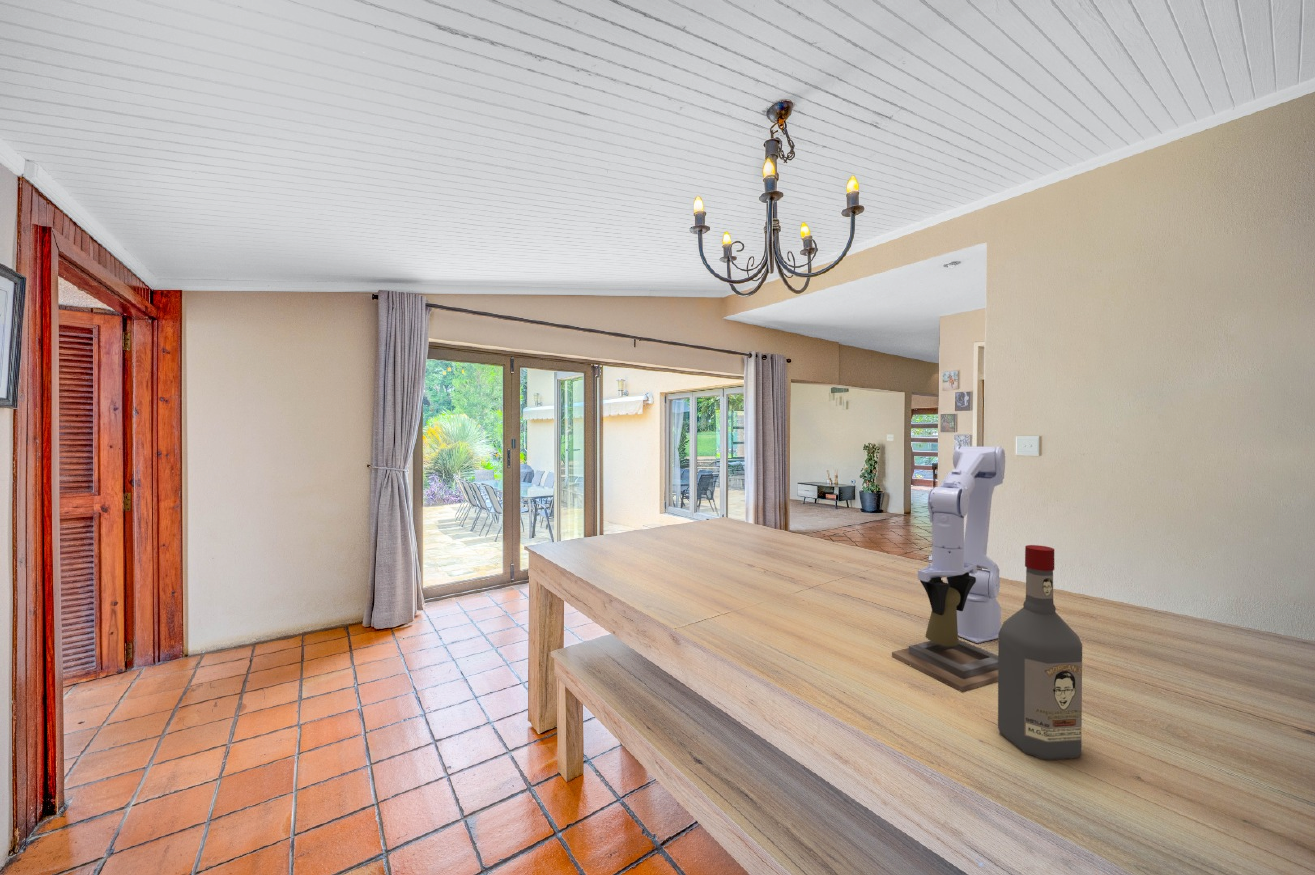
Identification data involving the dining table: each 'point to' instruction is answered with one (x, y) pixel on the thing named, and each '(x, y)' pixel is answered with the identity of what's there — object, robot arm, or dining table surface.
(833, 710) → the dining table surface
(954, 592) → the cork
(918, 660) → the socket board
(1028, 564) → the liquor
